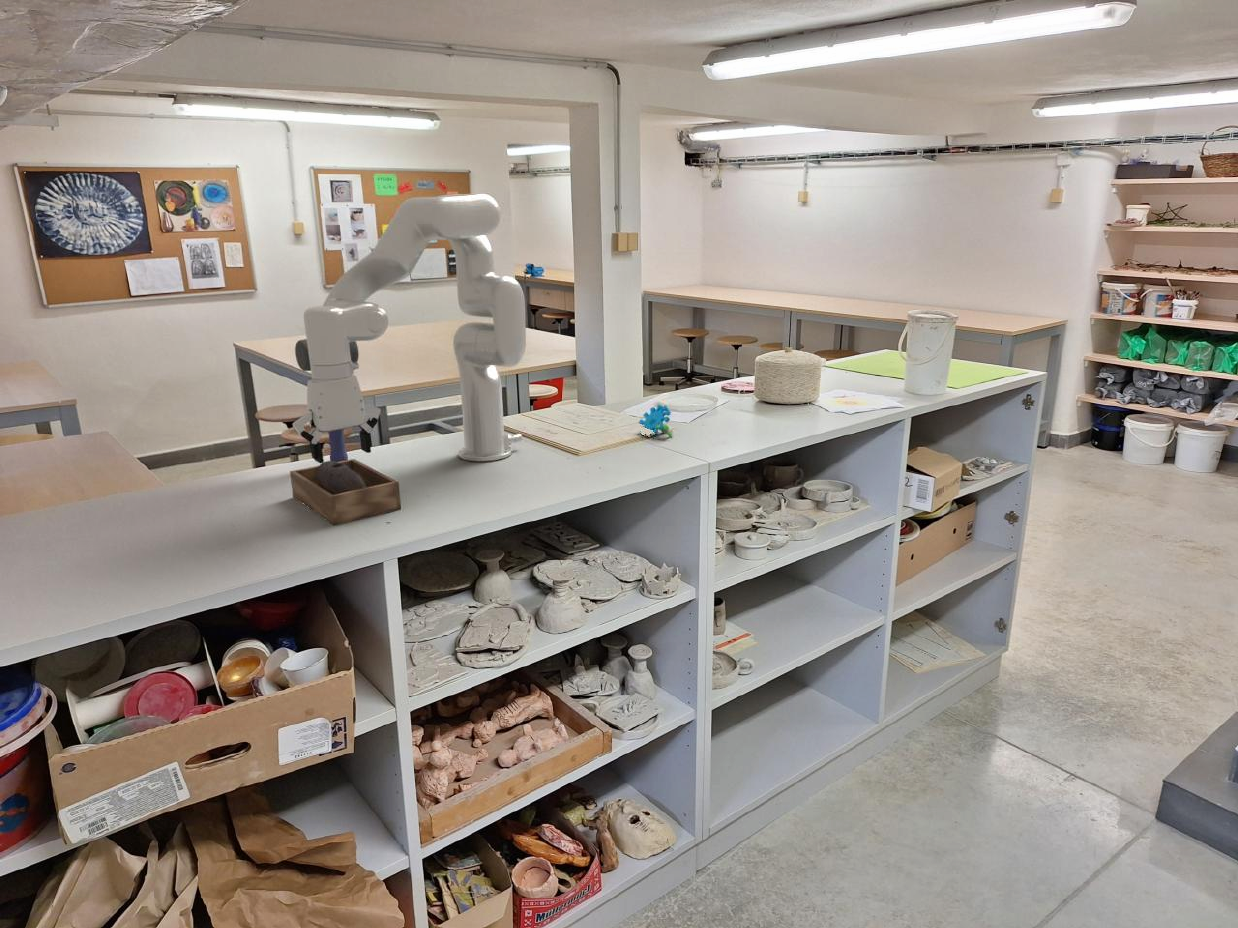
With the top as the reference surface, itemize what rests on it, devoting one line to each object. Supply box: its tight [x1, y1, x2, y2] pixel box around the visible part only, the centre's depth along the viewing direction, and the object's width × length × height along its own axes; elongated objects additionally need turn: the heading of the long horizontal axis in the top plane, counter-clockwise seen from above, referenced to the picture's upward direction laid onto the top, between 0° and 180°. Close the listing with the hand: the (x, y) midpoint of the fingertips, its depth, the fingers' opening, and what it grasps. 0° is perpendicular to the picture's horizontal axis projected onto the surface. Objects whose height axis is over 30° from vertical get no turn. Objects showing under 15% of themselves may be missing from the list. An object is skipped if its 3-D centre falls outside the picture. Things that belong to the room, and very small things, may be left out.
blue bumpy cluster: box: [638, 404, 673, 438], centre depth 217 cm, size 11×6×10 cm
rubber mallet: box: [294, 338, 360, 462], centre depth 190 cm, size 12×8×30 cm, turn 130°
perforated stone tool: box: [317, 460, 367, 495], centre depth 167 cm, size 15×5×7 cm, turn 46°
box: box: [289, 458, 402, 526], centre depth 167 cm, size 14×22×6 cm, turn 40°
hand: (343, 456), depth 166 cm, fingers open, 9 cm apart
